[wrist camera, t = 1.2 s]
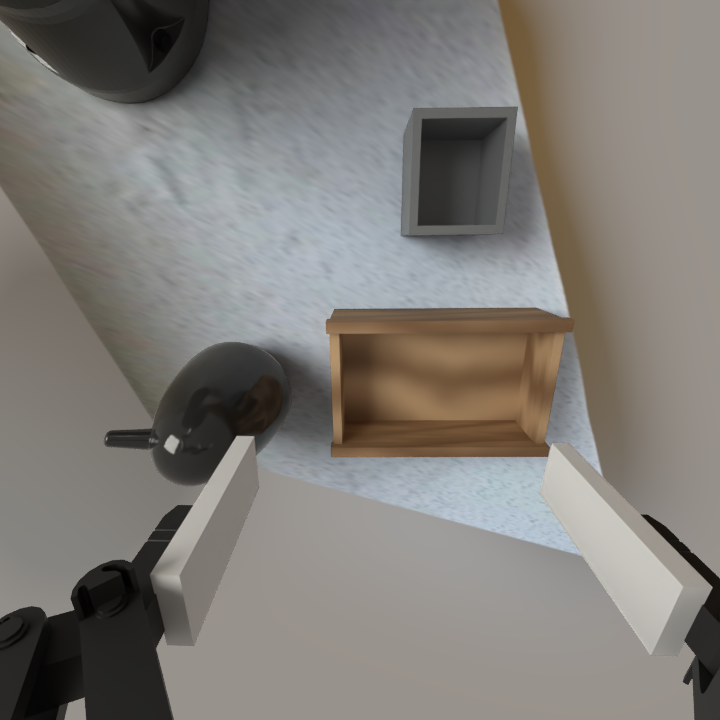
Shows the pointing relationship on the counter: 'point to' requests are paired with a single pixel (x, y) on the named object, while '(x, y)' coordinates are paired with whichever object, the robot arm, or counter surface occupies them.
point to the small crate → (456, 170)
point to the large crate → (443, 381)
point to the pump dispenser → (212, 412)
